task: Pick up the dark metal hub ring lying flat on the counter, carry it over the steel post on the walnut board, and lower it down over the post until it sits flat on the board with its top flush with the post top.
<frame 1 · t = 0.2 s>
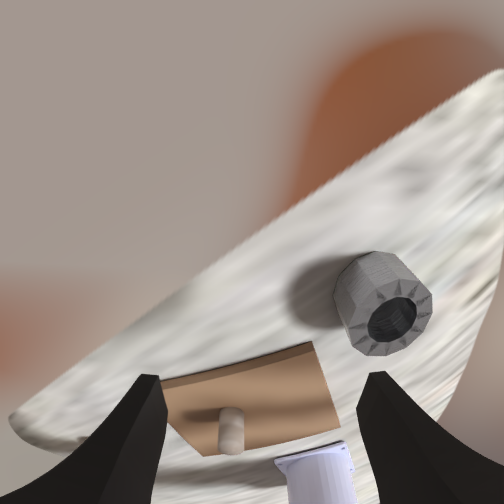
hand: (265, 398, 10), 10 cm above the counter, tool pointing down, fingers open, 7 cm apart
hub ring: (372, 289, 20), on the counter
post board: (247, 408, 24), on the counter
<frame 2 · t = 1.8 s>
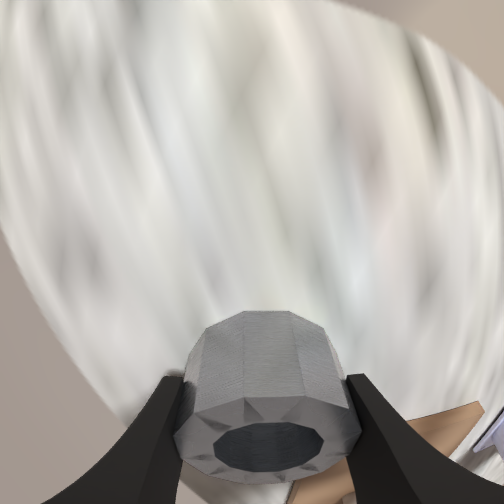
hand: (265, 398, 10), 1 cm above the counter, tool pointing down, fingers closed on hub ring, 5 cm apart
hub ring: (263, 370, 11), on the counter, touching gripper
post board: (370, 475, 16), on the counter
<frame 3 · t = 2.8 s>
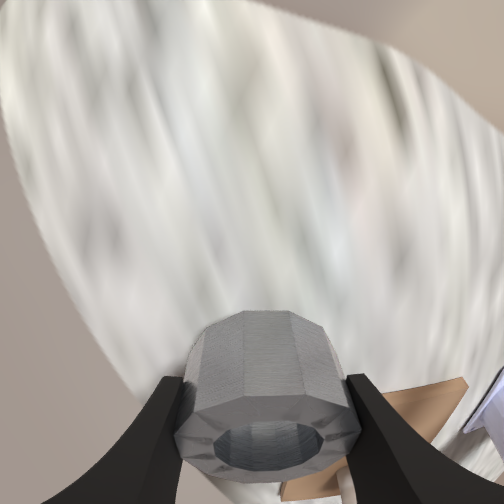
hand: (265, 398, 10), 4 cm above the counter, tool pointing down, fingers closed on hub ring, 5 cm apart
hub ring: (262, 369, 11), point 2 cm above the counter, touching gripper
post board: (362, 450, 18), on the counter
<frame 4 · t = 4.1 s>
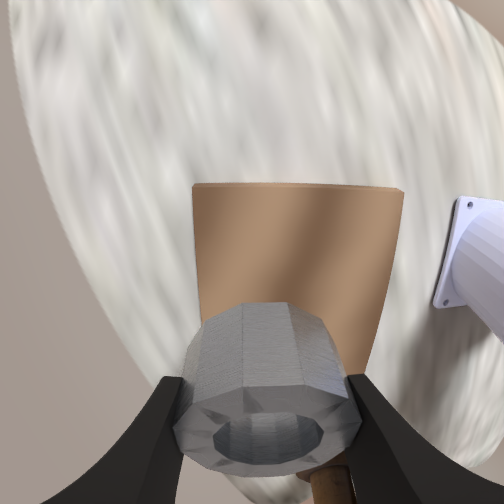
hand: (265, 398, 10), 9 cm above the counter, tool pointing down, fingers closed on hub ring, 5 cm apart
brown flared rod: (324, 449, 26), on the counter
hub ring: (262, 362, 11), point 7 cm above the counter, touching gripper
post board: (294, 300, 19), on the counter
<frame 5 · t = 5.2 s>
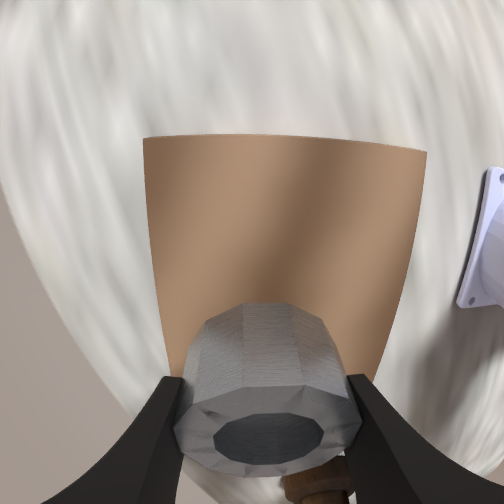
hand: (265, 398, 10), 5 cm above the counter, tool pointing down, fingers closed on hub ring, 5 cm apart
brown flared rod: (319, 469, 22), on the counter
hub ring: (262, 362, 11), point 4 cm above the counter, touching gripper
post board: (282, 294, 14), on the counter
when the fingers open (3 cm above the counter, at t = 6.3 s): hub ring stays where it is, resting on post board.
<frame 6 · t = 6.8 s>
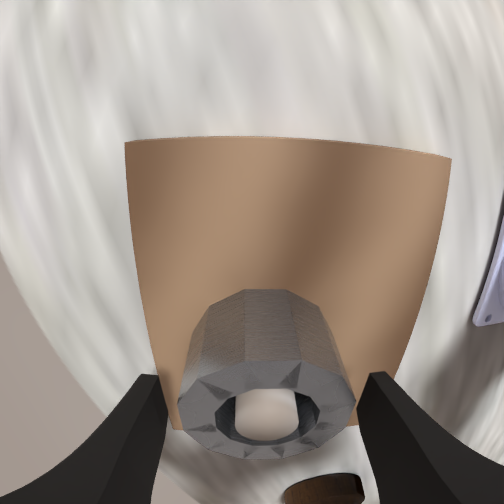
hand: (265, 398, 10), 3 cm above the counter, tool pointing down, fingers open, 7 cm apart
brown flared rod: (322, 485, 20), on the counter
hub ring: (262, 347, 12), point 1 cm above the counter, touching post board
post board: (286, 317, 12), on the counter
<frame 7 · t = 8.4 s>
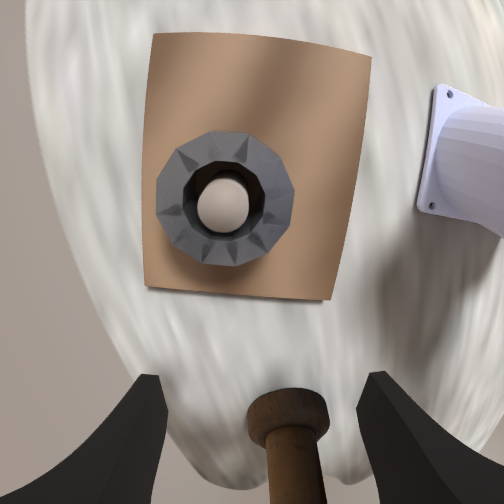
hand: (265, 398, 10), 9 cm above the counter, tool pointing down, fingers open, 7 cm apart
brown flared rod: (286, 409, 24), on the counter
hub ring: (228, 184, 15), point 1 cm above the counter, touching post board
post board: (249, 168, 16), on the counter
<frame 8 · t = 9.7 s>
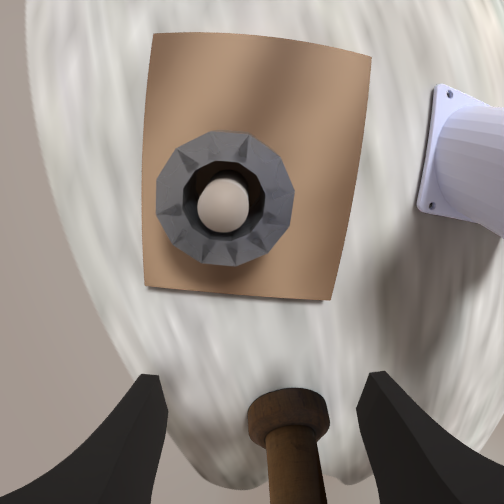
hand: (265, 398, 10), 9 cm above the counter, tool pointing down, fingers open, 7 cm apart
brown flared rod: (286, 409, 24), on the counter
hub ring: (228, 184, 15), point 1 cm above the counter, touching post board
post board: (249, 168, 16), on the counter
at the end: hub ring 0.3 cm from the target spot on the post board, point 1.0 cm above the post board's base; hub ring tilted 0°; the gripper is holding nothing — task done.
